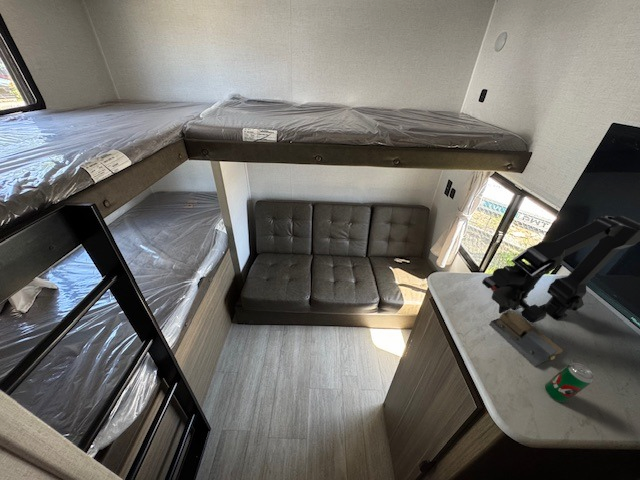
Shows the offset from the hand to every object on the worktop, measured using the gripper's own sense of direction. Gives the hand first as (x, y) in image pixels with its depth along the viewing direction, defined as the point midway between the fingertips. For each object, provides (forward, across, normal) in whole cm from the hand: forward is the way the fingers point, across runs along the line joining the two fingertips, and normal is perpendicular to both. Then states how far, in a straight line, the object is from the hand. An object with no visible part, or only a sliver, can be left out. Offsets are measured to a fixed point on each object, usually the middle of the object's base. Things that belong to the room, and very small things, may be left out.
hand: (500, 312), depth 90 cm
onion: (+3, -11, +11) cm, 16 cm away
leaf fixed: (+2, +10, -2) cm, 10 cm away
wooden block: (+2, +9, +2) cm, 10 cm away
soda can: (+2, +24, -8) cm, 26 cm away
